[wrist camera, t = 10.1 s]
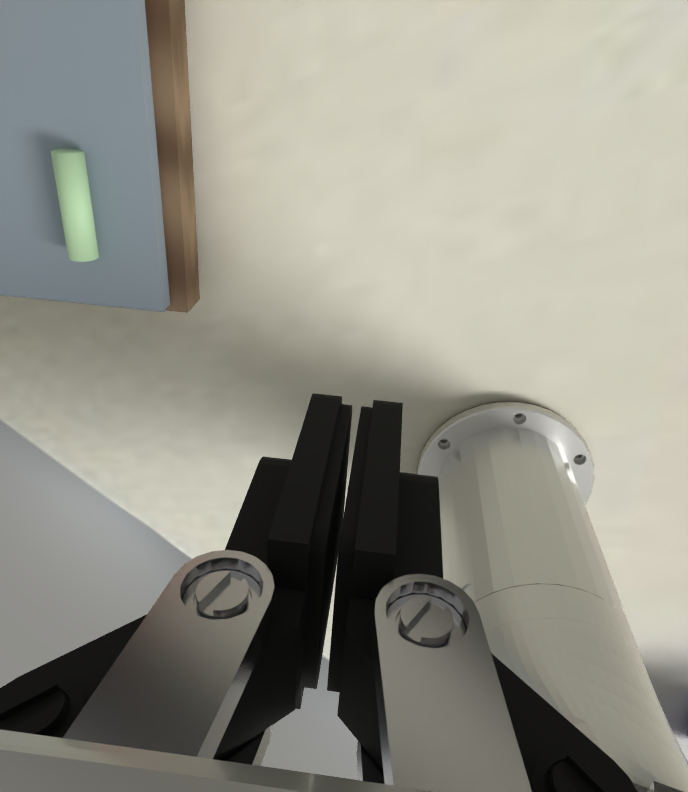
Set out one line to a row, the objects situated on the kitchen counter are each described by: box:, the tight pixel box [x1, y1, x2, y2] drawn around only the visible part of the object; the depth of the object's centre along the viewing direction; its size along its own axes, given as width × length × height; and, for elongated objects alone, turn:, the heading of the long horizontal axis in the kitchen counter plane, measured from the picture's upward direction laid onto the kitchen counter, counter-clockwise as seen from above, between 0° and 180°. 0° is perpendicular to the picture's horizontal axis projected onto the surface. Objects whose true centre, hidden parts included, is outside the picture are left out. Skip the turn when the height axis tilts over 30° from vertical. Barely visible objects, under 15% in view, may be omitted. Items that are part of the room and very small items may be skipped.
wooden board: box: [145, 0, 200, 312], centre depth 36 cm, size 20×20×4 cm
